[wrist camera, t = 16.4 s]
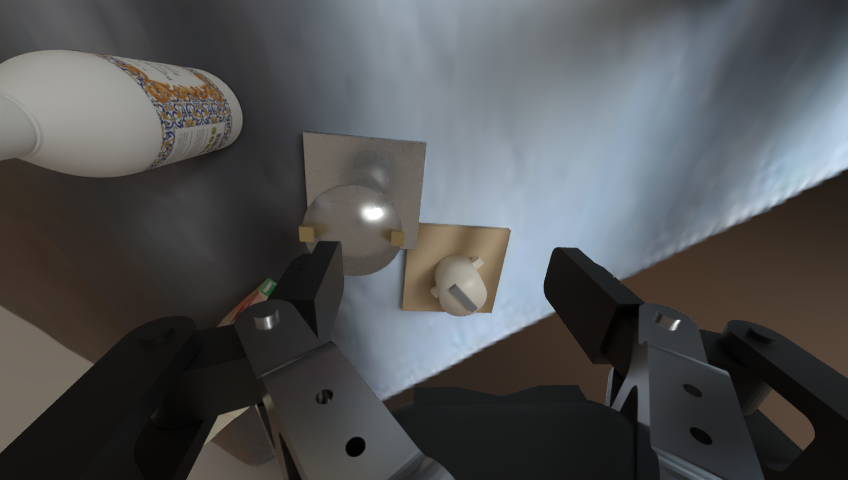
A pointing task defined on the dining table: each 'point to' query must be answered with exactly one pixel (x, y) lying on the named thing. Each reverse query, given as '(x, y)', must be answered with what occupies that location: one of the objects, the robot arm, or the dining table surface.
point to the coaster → (446, 242)
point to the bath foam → (110, 113)
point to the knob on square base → (362, 197)
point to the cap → (459, 285)
